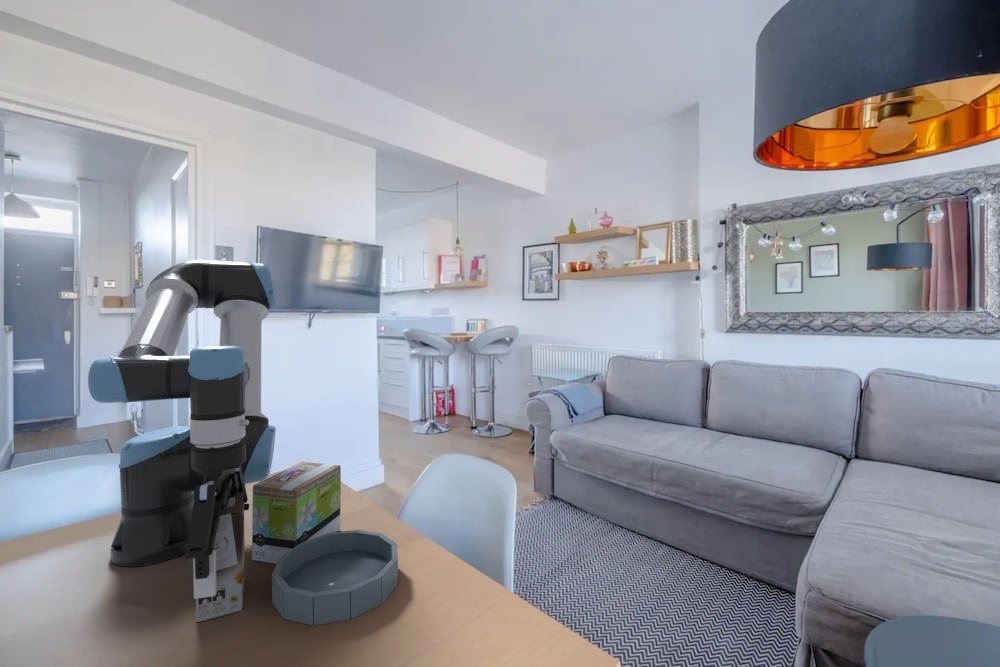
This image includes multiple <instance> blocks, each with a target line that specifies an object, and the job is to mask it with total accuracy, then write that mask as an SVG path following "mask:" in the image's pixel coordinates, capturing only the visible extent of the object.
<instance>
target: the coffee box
mask: <svg viewBox="0 0 1000 667" xmlns="http://www.w3.org/2000/svg"><path fill="white" fill-rule="evenodd" d="M244 504H245V503H244V492H240V493H238V494H237V495H232V496H228V497H227V502H226V506H225V507H224V508H222V509H221V513H220V518H219V523H218V528H217V532H216V537H215V542H214V547H213V551H214V550H216V586H217V593H216V595H215V596H211V597H204V598H197V599H195V622H196V623H200V622H203V621H208V620H211V619H216V618H218V617H219V618H220V617H222V616H225V615H226V616H227V615H231V614H234V613H237V612H238V613H239V612H241V611H242V610H243V608H244V607H243V606H244V605H243V604H244V596H245V587H246V585H245V584H246V555H245V554H246V553H245V552H246V550H245V549H246V546H245V510H244Z"/></svg>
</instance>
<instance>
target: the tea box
mask: <svg viewBox="0 0 1000 667" xmlns="http://www.w3.org/2000/svg"><path fill="white" fill-rule="evenodd" d="M341 469H342V468H341V465H339V464H334V463H333V464H332V463H319V462H312V461H311V462H309V461H300V462H299V463H297V464H295V465H293V466H291V467H289V468H286V469H284V470H283V471H280V472H278V473H276V474H274V475H272V476H270V477H267V478H266V479H265V480H263V481H259V482H256V483H255V484H254V485H252V514H251V515H252V523H251V524H252V525H251V526H252V527H251V528H252V530H251V531H252V532H251V536H252V538H251V539H252V540H251V541H252V542H251V560H252V561H257V562H262V563H269V564H275V565H276V564H277V562H278V560H279V558H280V557H282V556H283V555H284V554H286V553H287V552H289V551H290V550H291V549H293V548H294V547H296V546H297V545H298V544H300V543H302V542H305V541H308V540H310V539H313V538H316V537H319V536H322V535H325V534H328V533H334V532H337V531H338V532H340V530H341V502H342V501H341V493H342V492H341V490H342V489H341V486H342V485H341V482H342V480H341V479H342V478H341V476H342V474H341V473H342V472H341Z"/></svg>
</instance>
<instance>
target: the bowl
mask: <svg viewBox="0 0 1000 667" xmlns="http://www.w3.org/2000/svg"><path fill="white" fill-rule="evenodd" d="M398 556H399V554H398V544H397V543H396V542H395V541H394V540H393V539H391V538H389V537H388V536H387V535H385V534H384V533H381V532H376V531H375V532H374V531H370V530H364V529H363V530H362V529H352V530H345V531H344V530H342V531H338V532H334V533H328V534H325V535H322V536H319V537H316V538H313V539H310V540H308V541H305V542H302V543H300V544H298V545H297V546H296V547H294V548H293V549H291V550H290V551H289V552H287V553H286V554H284V555H283V556H282V557H280V558H279V560H278V562H277V564H275V566H274V569H273V572H272V574H271V599H272V600H271V603H272V605H273V607H275V609H276V610H277V611H278V613H279V615H280V616H281V617H282V619H284V620H286V621H291V622H297V623H301V624H304V625H310V626H319V625H320V626H321V625H324V624H331V623H337V622H345V621H350V620H353V619H355V618H357V617H358V616H360V615H363V614H364V613H365V614H366V613H367V612H368V611H370V610H373V609H375V608H376V607H378V606H381V605H382V604H383V603H384V602H385V601H386V600H387V598H388V597H389V596H390V595H391V593H392V592H393V591H394V590H395V588H397V586H398V585H399V558H398Z"/></svg>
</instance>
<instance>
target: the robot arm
mask: <svg viewBox="0 0 1000 667" xmlns="http://www.w3.org/2000/svg"><path fill="white" fill-rule="evenodd" d="M271 274H272V273H271V271H270V267H269V266H267V264H264V263H261V262H259V263H258V262H252V261H247V262H242V261H222V260H207V259H206V260H205V259H195V260H188V261H183V262H180V263H177V264H174V265H172V266H171V267H169V268H166V269H165V270H163V271H162V272H160V273H159V274H157V275H156V276H155V277H154V278H152V279H151V281H150V283H149V284H148V286H147V288H146V290H145V300H146V302H145V305H144V306H143V308H142V310H141V311H140V314H139V316H138V318H137V320H136V322H135V324H134V325H133V328H132V330H131V331H130V332H129V336H128V337H127V339H126V341H125V343H124V345H123V347H122V349H121V350H120V352H119V355H118V356H109V357H102V358H101V357H100V358H97V359H95V360H94V361H93V362H92V363H91V365H90V368H89V371H88V376H87V386H88V390H89V393H90V397H91V398H92V399H93V400H94V402H97V403H100V404H106V403H107V404H111V403H112V404H114V403H123V404H127V403H140V402H148V401H149V402H152V401H162V400H163V401H164V400H181V399H182V400H183V399H189V401H190V403H189V404H190V405H189V406H190V418H189V425H177V426H170V427H165V428H161V429H155V430H152V431H148V432H145V433H142V434H139V435H136V436H134V437H131V438H130V439H128V440H127V441H126V442H124V443H123V444H122V446H121V447H120V451H119V452H120V454H119V456H120V457H119V464H118V469H119V481H120V500H121V501H120V505H121V508H120V510H121V517H120V519H119V523H118V526H117V528H116V531H115V535H114V536H113V540H112V543H111V546H110V561H111V563H113V564H114V565H117V566H120V567H143V566H149V565H153V564H157V563H158V564H159V563H163V562H166V561H169V560H172V559H174V558H177V557H180V556H181V555H184V557H185V558H184V559H185V560H192V568H193V569H192V570H193V571H192V572H193V600H194V599H195V600H196V599H197V598H204V597H211V596H215V595H216V593H217V586H216V550H214V551H213V547H214V542H215V537H216V532H217V528H218V523H219V518H220V513H221V509H222V508H224V507H225V506H226V502H227V497H228V496H232V495H237V494H238V493H240V492H244V511H248V510H250V503H247V502H248V499H249V498H248V493H247V490H246V485H247V484H248V485H249V484H253V483H259V482H262V481H264V480H266V479H268V478H269V475H270V473H271V469H272V464H273V458H274V452H275V451H274V450H275V442H276V432H277V431H276V429H277V428H276V426H274V425H271V424H270V425H269V418H268V417H267V416H266V415H265V414H263V413H262V321H263V320H265V319H266V318H268V316H269V310H270V311H271V310H273V309H275V308H276V304H275V303H276V301H275V293H274V286H273V280H272V275H271ZM196 309H213V314H214V316H216V318H218V319H220V325H219V326H220V327H219V328H220V329H219V345H213V346H212V345H211V346H210V345H209V346H197V347H194V348H192V349H191V350H190V352H189V355H175V353H176V351H177V350H176V349H177V347H178V344H179V342H180V338H181V336H182V332H183V330H184V328H185V325H186V322H187V319H188V316H189V314H191V313H193V312H194V311H195V310H196Z"/></svg>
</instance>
